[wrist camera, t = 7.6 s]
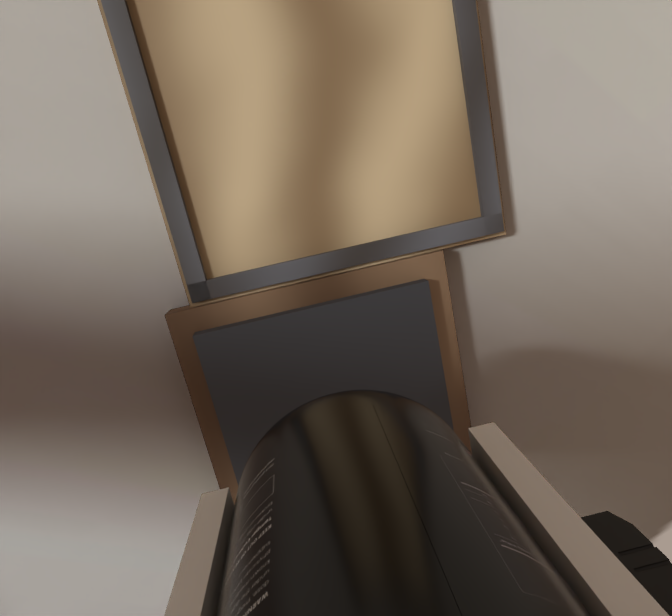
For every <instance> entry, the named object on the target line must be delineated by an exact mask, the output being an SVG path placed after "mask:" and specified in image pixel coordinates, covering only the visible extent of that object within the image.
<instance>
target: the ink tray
mask: <svg viewBox="0 0 672 616" xmlns="http://www.w3.org/2000/svg"><path fill="white" fill-rule="evenodd" d="M420 279H426V280H428V281H429V287H430V293H431V299H432V305H433V311H434V317H435V322H436V328H437V334H438V340H439V346H440V352H441V358H442V364H443V370H444V376H445V381H446V387H447V393H448V399H449V405H450V411H451V417H452V423H453V429H454V432H455V433H456V434H457V436H458V437H459V438H460V439H461V441H462V442H463V443H464V445H465V446H466V447H467V448H468V449H469V451H470V452H471V454H472V450H471V444H470V438H469V431H468V428H471V423H470V416H469V410H468V404H467V398H466V391H465V385H464V379H463V372H462V366H461V360H460V354H459V347H458V341H457V335H456V328H455V322H454V316H453V309H452V303H451V297H450V291H449V284H448V278H447V272H446V265H445V259H444V253H443V250H436V251H432V252H428V253H423V254H419V255H415V256H410V257H406V258H402V259H397V260H393V261H389V262H384V263H380V264H376V265H372V266H367V267H363V268H359V269H354V270H350V271H346V272H341V273H337V274H333V275H328V276H324V277H320V278H315V279H311V280H307V281H302V282H298V283H294V284H289V285H285V286H281V287H276V288H272V289H268V290H264V291H259V292H255V293H251V294H246V295H242V296H238V297H233V298H229V299H225V300H220V301H216V302H212V303H207V304H203V305H199V306H194V307H190V305H188V306H184V307H180V308H175V309H171V310H170V311H169V312H167V313H166V314H165V318H166V321H167V324H168V327H169V330H170V334H171V337H172V340H173V343H174V346H175V349H176V352H177V356H178V359H179V362H180V365H181V368H182V371H183V374H184V377H185V381H186V384H187V387H188V390H189V393H190V396H191V399H192V403H193V406H194V409H195V412H196V415H197V418H198V421H199V424H200V428H201V431H202V434H203V437H204V440H205V443H206V446H207V450H208V453H209V456H210V459H211V462H212V465H213V468H214V471H215V475H216V478H217V481H218V484H219V487H220V489H224V488H228V487H229V490H230V493H231V496H232V499H233V502H234V506H235V501H236V496H237V490H238V483H237V480H236V477H235V473H234V470H233V467H232V464H231V460H230V457H229V454H228V451H227V447H226V444H225V441H224V438H223V434H222V431H221V428H220V425H219V421H218V418H217V415H216V411H215V408H214V405H213V402H212V398H211V395H210V392H209V389H208V385H207V382H206V379H205V376H204V372H203V369H202V366H201V363H200V359H199V356H198V353H197V350H196V346H195V343H194V340H193V337H192V336H193V335H194V333H195V332H198V331H202V330H206V329H211V328H215V327H219V326H223V325H228V324H232V323H236V322H240V321H245V320H249V319H253V318H258V317H262V316H266V315H270V314H275V313H279V312H283V311H287V310H292V309H296V308H300V307H305V306H309V305H313V304H317V303H322V302H326V301H330V300H334V299H339V298H343V297H347V296H352V295H356V294H360V293H364V292H369V291H373V290H377V289H382V288H386V287H390V286H394V285H399V284H403V283H407V282H411V281H416V280H420Z"/></svg>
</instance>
